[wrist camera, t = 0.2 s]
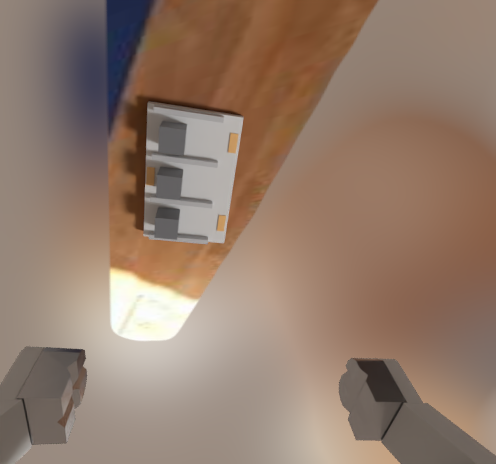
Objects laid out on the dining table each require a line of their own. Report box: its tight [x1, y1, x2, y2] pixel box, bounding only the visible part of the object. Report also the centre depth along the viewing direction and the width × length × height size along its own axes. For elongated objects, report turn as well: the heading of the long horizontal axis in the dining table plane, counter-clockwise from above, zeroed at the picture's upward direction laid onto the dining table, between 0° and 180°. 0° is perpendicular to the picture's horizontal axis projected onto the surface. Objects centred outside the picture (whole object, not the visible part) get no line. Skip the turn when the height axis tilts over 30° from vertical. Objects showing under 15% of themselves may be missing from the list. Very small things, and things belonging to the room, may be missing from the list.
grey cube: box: [154, 207, 180, 240], centre depth 56 cm, size 4×4×4 cm
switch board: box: [144, 101, 244, 244], centre depth 55 cm, size 22×14×3 cm, turn 170°
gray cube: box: [158, 121, 187, 156], centre depth 50 cm, size 4×4×4 cm
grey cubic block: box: [156, 167, 183, 200], centre depth 53 cm, size 4×4×4 cm
